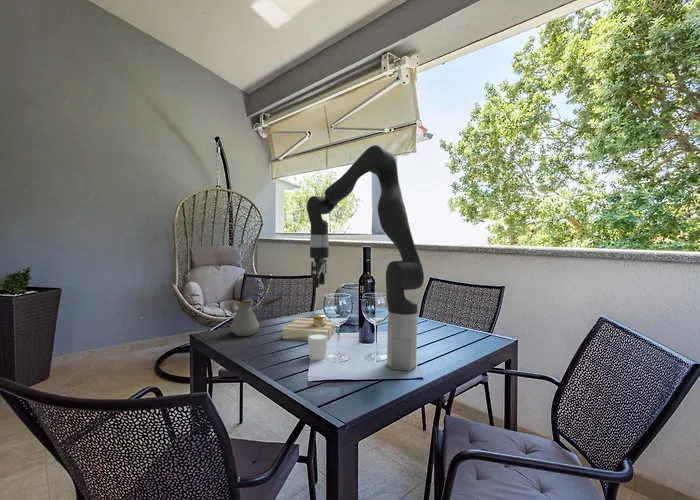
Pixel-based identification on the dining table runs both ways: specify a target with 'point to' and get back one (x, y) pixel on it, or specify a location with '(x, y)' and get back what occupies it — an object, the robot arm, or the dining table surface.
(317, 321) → the bushing
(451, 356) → the dining table surface
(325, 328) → the jig
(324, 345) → the shot glass
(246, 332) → the coffee pot
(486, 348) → the dining table surface
